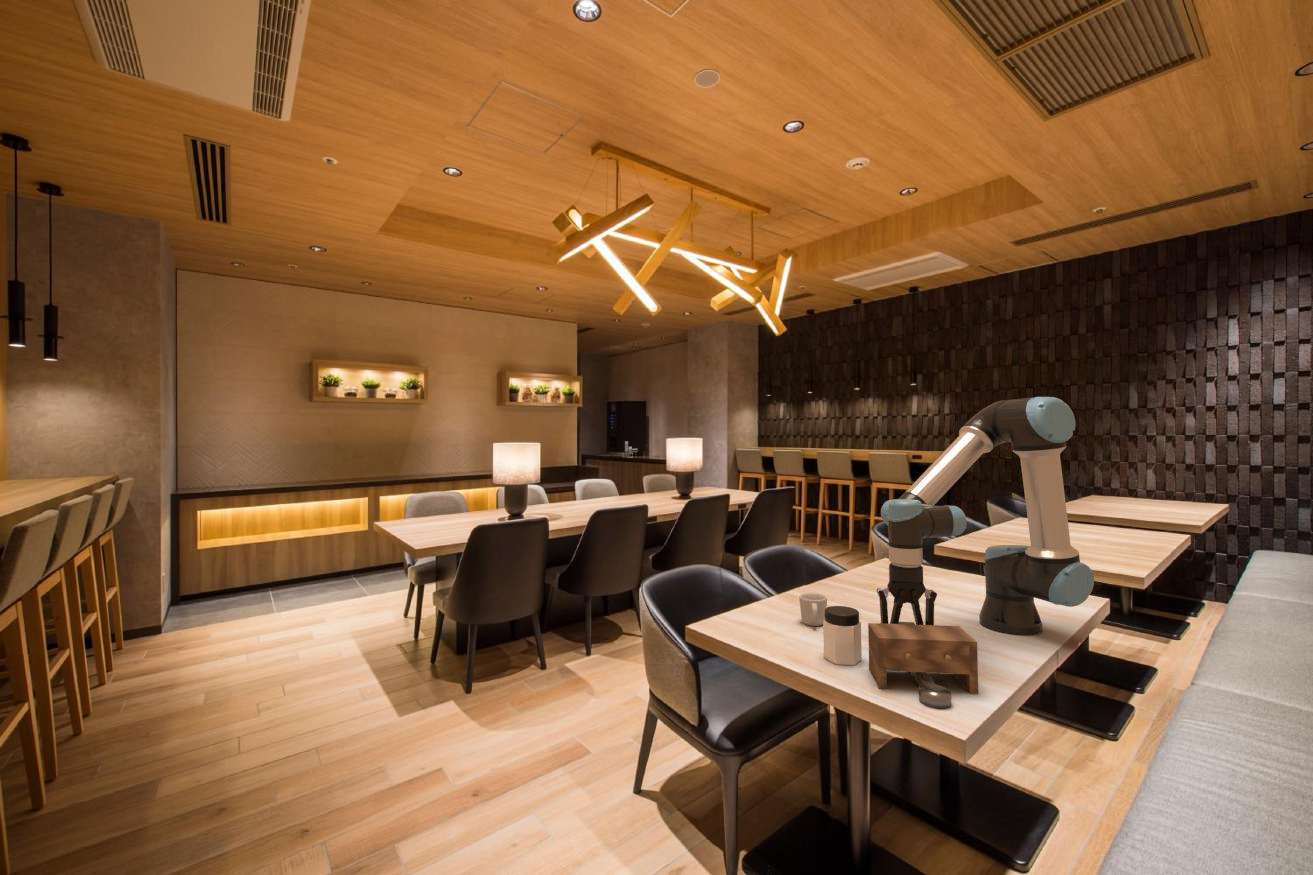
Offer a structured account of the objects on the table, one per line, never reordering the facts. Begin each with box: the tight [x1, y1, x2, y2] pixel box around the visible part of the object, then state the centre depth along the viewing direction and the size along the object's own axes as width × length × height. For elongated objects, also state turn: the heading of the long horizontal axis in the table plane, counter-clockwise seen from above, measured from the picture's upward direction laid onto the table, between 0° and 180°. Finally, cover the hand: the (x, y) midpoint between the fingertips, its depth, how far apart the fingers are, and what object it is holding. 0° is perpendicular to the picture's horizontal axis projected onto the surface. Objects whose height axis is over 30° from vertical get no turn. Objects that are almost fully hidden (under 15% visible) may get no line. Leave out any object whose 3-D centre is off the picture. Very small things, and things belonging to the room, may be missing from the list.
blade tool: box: [898, 621, 937, 686], centre depth 127 cm, size 4×19×9 cm, turn 170°
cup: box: [798, 592, 828, 627], centre depth 163 cm, size 11×8×8 cm
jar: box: [822, 605, 863, 666], centre depth 137 cm, size 9×8×12 cm
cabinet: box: [867, 622, 979, 695], centre depth 124 cm, size 20×11×11 cm, turn 81°
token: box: [918, 684, 953, 710], centre depth 114 cm, size 6×6×2 cm
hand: (907, 660), depth 134 cm, fingers closed on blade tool, 4 cm apart
